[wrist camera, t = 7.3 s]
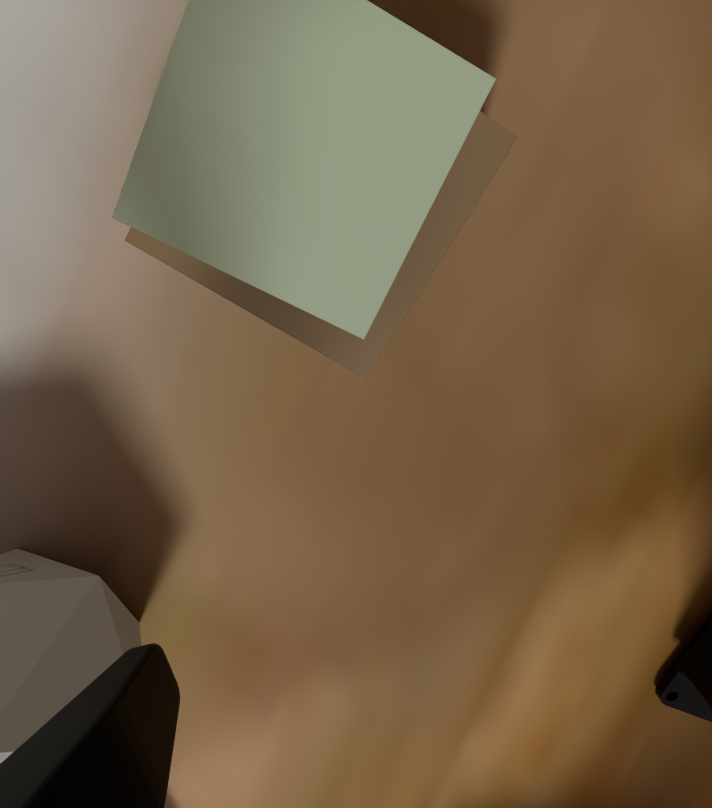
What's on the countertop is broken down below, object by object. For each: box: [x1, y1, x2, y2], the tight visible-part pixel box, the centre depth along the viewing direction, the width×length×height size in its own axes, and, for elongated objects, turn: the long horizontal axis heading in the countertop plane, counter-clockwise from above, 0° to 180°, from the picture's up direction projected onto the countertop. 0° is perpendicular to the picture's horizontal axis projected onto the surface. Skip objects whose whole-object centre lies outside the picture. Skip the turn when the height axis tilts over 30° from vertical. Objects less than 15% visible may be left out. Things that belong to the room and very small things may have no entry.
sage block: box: [112, 0, 496, 339], centre depth 11 cm, size 4×4×5 cm
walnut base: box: [125, 111, 517, 379], centre depth 15 cm, size 7×7×4 cm
